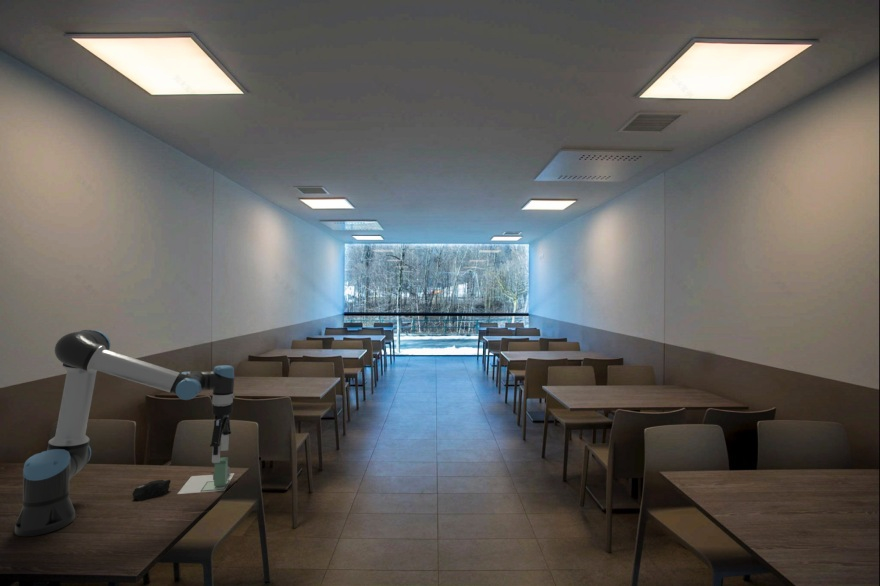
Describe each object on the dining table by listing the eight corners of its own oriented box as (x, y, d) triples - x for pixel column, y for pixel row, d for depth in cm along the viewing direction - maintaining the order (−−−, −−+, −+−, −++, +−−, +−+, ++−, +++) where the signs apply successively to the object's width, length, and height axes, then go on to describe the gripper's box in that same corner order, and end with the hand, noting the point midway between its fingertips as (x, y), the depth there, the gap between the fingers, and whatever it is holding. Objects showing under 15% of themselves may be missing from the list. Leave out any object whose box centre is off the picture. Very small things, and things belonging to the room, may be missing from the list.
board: (224, 491, 173) (224, 489, 173) (177, 495, 169) (177, 493, 169) (234, 474, 190) (234, 472, 190) (191, 477, 186) (191, 475, 186)
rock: (153, 503, 163) (154, 487, 163) (130, 502, 163) (130, 486, 163) (171, 491, 173) (171, 477, 173) (149, 490, 173) (149, 476, 173)
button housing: (226, 478, 184) (226, 471, 184) (213, 479, 183) (213, 472, 183) (229, 473, 189) (229, 466, 189) (216, 474, 188) (216, 467, 188)
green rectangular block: (224, 487, 176) (225, 460, 176) (213, 488, 175) (214, 461, 175) (227, 483, 179) (228, 457, 180) (216, 483, 179) (217, 457, 179)
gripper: (225, 411, 166) (222, 467, 166) (239, 396, 190) (237, 445, 190) (203, 412, 164) (200, 468, 164) (220, 397, 189) (218, 446, 188)
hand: (220, 456), depth 177 cm, fingers open, 13 cm apart
